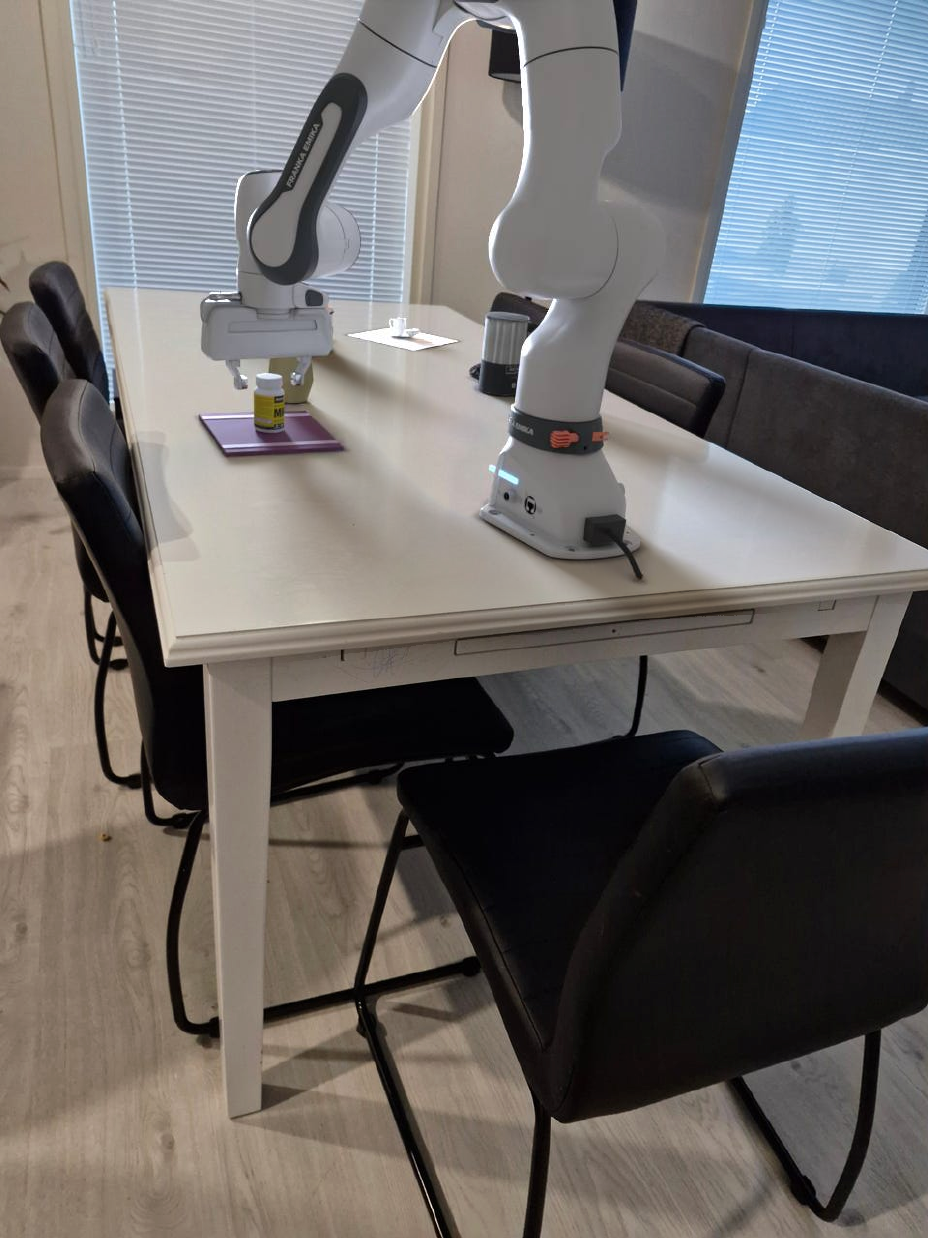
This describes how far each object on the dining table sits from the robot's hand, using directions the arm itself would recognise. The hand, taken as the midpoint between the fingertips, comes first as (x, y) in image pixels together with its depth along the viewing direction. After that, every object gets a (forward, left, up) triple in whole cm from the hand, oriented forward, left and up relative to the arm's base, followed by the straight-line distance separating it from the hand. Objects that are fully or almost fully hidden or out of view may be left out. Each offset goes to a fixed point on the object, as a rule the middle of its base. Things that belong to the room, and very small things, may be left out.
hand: (269, 386), depth 135 cm
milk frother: (+27, -54, -8) cm, 61 cm away
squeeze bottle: (+20, -9, -8) cm, 23 cm away
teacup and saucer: (+73, -53, -8) cm, 90 cm away
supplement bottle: (+1, 0, -7) cm, 7 cm away
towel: (+1, 0, -8) cm, 8 cm away
